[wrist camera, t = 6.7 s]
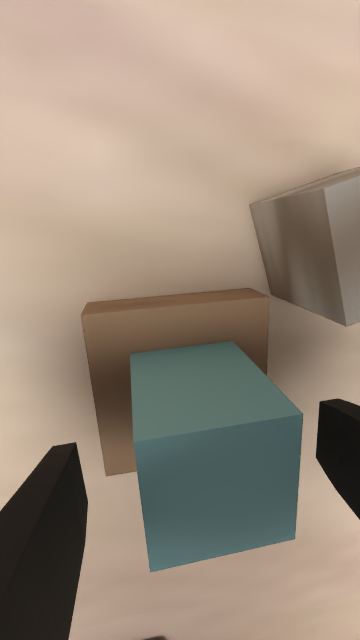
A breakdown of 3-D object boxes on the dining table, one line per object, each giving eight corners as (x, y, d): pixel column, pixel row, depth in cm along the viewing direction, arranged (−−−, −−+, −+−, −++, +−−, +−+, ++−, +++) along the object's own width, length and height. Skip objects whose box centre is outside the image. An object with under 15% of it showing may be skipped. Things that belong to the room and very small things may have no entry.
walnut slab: (244, 417, 16) (264, 448, 14) (108, 439, 15) (106, 476, 13) (245, 286, 14) (268, 296, 12) (88, 300, 13) (80, 315, 11)
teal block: (233, 427, 13) (295, 539, 8) (140, 443, 13) (150, 572, 8) (232, 340, 12) (302, 413, 7) (129, 353, 11) (133, 442, 7)
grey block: (349, 263, 14) (463, 280, 9) (270, 294, 14) (346, 326, 9) (336, 173, 13) (459, 139, 8) (248, 204, 13) (323, 188, 8)
